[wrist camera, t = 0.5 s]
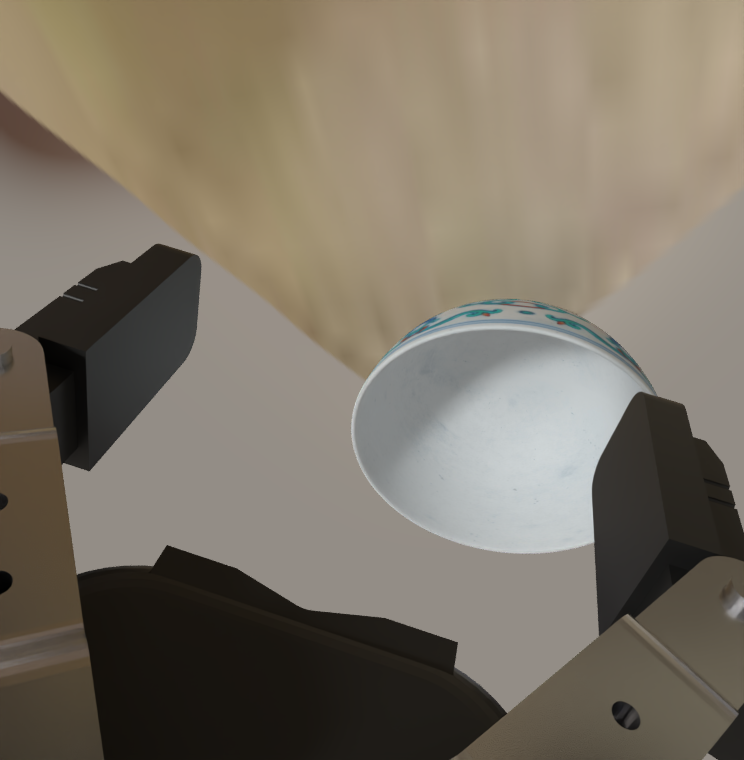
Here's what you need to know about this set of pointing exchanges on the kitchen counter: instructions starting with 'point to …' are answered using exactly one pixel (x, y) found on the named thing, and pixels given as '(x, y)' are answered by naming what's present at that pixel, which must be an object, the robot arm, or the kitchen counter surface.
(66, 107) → the kitchen counter surface
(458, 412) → the chinaware
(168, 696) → the robot arm
